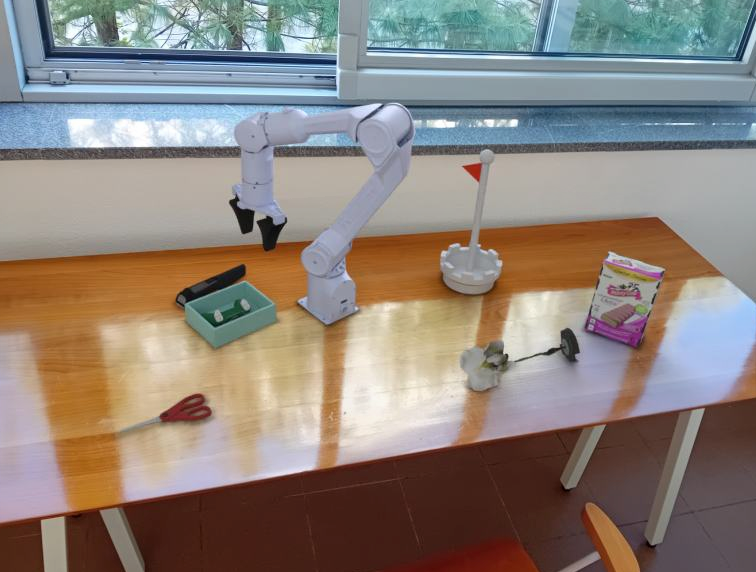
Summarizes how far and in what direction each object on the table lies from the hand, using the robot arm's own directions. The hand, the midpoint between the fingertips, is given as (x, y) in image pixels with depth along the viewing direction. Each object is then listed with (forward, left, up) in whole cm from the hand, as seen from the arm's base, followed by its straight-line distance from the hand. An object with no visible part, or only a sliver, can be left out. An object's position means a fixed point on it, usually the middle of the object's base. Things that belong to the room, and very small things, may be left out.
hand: (258, 240), depth 142 cm
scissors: (-22, +33, -10) cm, 41 cm away
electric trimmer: (+4, +8, -11) cm, 14 cm away
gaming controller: (-7, +12, -10) cm, 17 cm away
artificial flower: (-51, -21, -11) cm, 56 cm away
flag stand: (-24, -36, -11) cm, 45 cm away
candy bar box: (-55, -45, -11) cm, 72 cm away
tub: (-7, +11, -10) cm, 17 cm away
